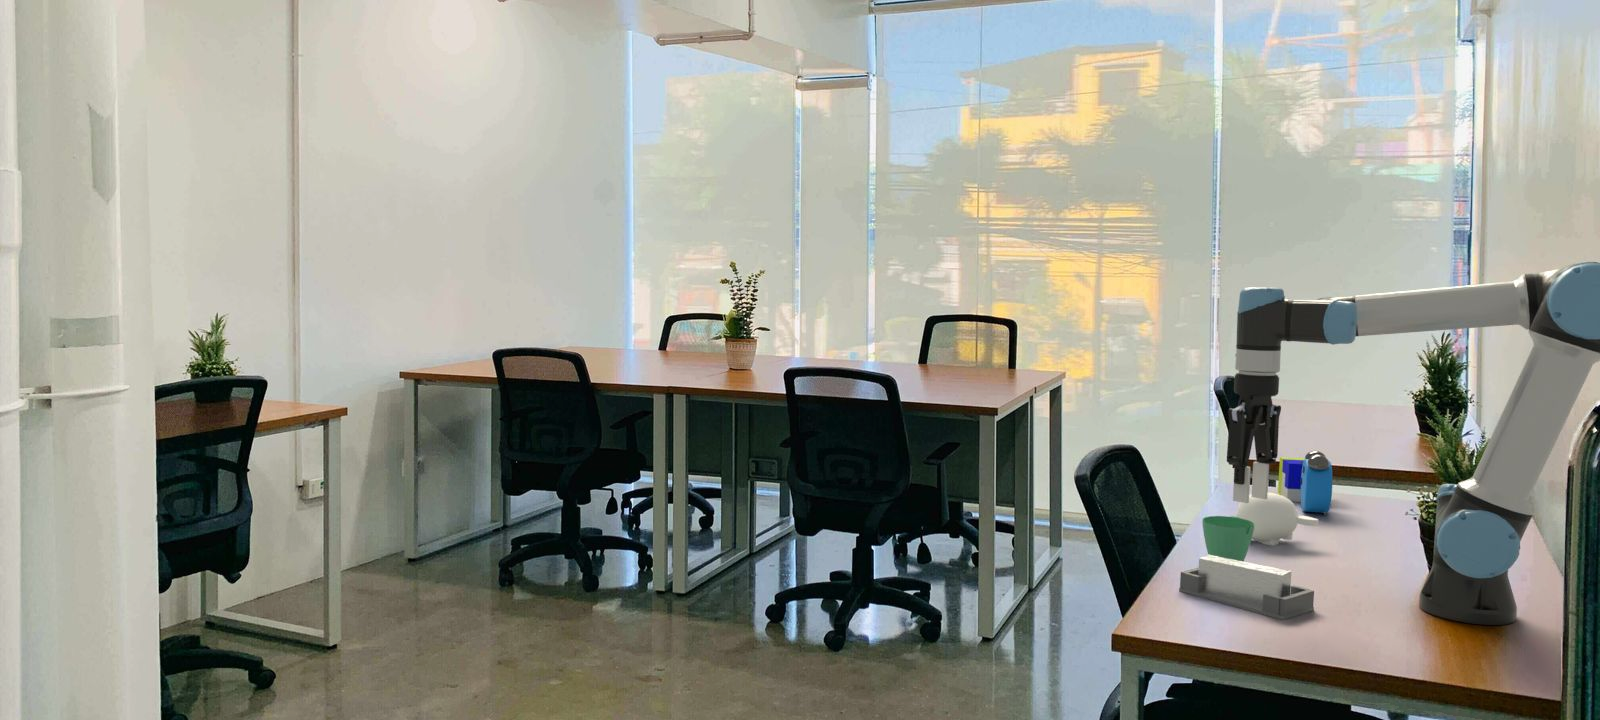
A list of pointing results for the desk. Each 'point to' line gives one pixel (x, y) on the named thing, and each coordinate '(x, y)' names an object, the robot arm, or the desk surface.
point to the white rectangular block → (1242, 579)
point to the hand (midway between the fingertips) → (1250, 499)
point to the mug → (1227, 536)
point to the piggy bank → (1272, 518)
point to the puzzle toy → (1290, 478)
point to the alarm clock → (1316, 483)
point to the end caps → (1271, 606)
